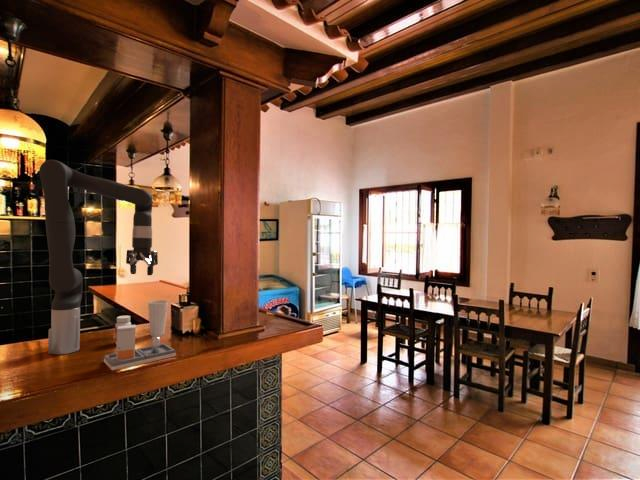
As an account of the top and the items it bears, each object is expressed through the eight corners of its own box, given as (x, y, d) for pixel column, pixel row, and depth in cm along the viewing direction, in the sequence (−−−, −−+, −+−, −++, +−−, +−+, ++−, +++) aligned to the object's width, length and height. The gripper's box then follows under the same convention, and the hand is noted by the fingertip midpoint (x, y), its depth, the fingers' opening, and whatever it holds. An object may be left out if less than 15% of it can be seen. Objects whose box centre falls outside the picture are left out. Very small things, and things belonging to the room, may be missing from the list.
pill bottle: (113, 345, 146) (114, 319, 145) (115, 341, 151) (116, 315, 151) (130, 344, 148) (130, 317, 148) (131, 340, 154) (132, 314, 154)
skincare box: (115, 361, 124) (116, 328, 124) (116, 358, 128) (117, 325, 128) (135, 359, 127) (135, 327, 127) (135, 355, 131) (135, 324, 131)
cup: (161, 331, 168) (161, 299, 168) (171, 334, 163) (171, 302, 163) (143, 335, 161) (144, 302, 161) (153, 338, 156) (154, 304, 156)
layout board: (111, 370, 120) (112, 349, 120) (103, 361, 127) (104, 342, 127) (175, 356, 135) (175, 337, 135) (164, 349, 143) (165, 331, 143)
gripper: (121, 236, 146) (120, 274, 146) (149, 237, 142) (148, 276, 142) (135, 236, 153) (134, 272, 153) (162, 237, 149) (161, 274, 149)
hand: (141, 274), depth 148 cm, fingers open, 8 cm apart
